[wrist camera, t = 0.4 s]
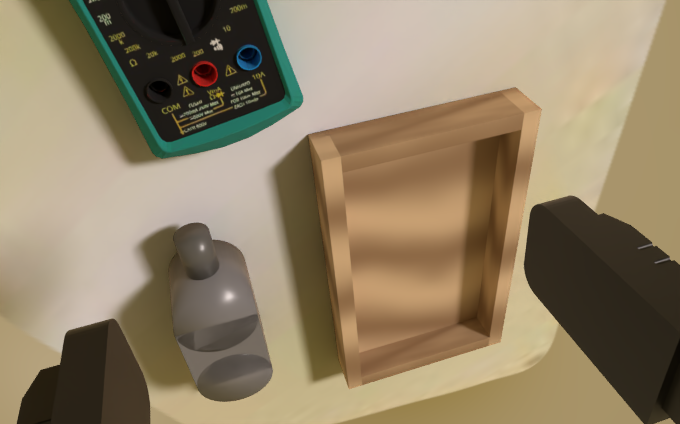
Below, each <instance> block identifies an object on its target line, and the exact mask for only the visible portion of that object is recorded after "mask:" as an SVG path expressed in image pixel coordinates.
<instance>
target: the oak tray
mask: <svg viewBox="0 0 680 424" xmlns="http://www.w3.org/2000/svg"><path fill="white" fill-rule="evenodd" d="M541 110H542V109H541V108H540V107H539V106H537V105H536V104H535V103H534V102H533V101H531V100H530V99H529V98H528V97H527V96H525V95H524V94H523V93H522V92H521V91H519V90H518V89H517V88H516V87H515V88H511V89H507V90H502V91H498V92H493V93H489V94H485V95H480V96H476V97H471V98H467V99H462V100H458V101H454V102H449V103H445V104H440V105H436V106H432V107H427V108H423V109H418V110H414V111H409V112H405V113H401V114H396V115H392V116H387V117H383V118H379V119H374V120H370V121H365V122H361V123H357V124H352V125H348V126H343V127H339V128H334V129H330V130H326V131H321V132H317V133H312V134H308V137H309V144H310V151H311V159H312V166H313V174H314V181H315V188H316V196H317V203H318V211H319V218H320V225H321V233H322V240H323V247H324V255H325V262H326V270H327V277H328V284H329V292H330V299H331V307H332V314H333V321H334V329H335V336H336V343H337V351H338V358H339V362H340V365H341V368H342V371H343V374H344V376H345V379H346V382H347V385H348V388H349V389H351V388H354V387H357V386H361V385H364V384H367V383H370V382H374V381H377V380H380V379H383V378H386V377H390V376H393V375H396V374H399V373H402V372H406V371H409V370H412V369H415V368H419V367H422V366H425V365H428V364H431V363H435V362H438V361H441V360H444V359H447V358H451V357H454V356H457V355H460V354H464V353H467V352H470V351H473V350H476V349H480V348H483V347H486V346H489V345H492V344H496V343H499V342H500V341H501V336H502V330H503V324H504V319H505V313H506V307H507V302H508V296H509V290H510V285H511V279H512V274H513V268H514V262H515V257H516V251H517V245H518V240H519V234H520V228H521V223H522V217H523V212H524V206H525V200H526V195H527V189H528V183H529V178H530V172H531V166H532V161H533V155H534V149H535V144H536V138H537V133H538V127H539V121H540V116H541Z"/></svg>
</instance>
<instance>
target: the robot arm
mask: <svg viewBox="0 0 680 424" xmlns="http://www.w3.org/2000/svg"><path fill="white" fill-rule="evenodd" d="M524 270H525V275H526V278H527V281H528V284H529V286H530V288H531V289H532V291H533V292H534V294H535V295H536V296H537V297H538V299H539V300H540V301H541V302H542V303H543V305H544V306H545V307H546V308H547V309H548V311H549V312H550V313H551V314H552V315H553V316H554V318H555V319H556V320H557V321H558V322H559V324H560V325H561V326H562V327H563V328H564V329H565V331H566V332H567V333H568V334H569V335H570V337H571V338H572V339H573V340H574V341H575V342H576V344H577V345H578V346H579V347H580V348H581V350H582V351H583V352H584V353H585V354H586V355H587V357H588V358H589V359H590V360H591V361H592V363H593V364H594V365H595V366H596V367H597V368H598V370H599V371H600V372H601V373H602V374H603V376H605V378H606V379H607V381H608V382H609V383H610V384H611V385H612V386H613V387H614V389H615V390H616V391H617V392H618V394H619V395H620V396H621V397H622V398H623V399H624V401H626V403H627V404H628V405H629V407H630V408H631V409H632V410H633V411H634V412H635V414H636V415H637V416H638V417H639V418H640V420H641V421H642V422H643V423H644V424H654V423H657V422H660V421H662V420H665V419H668V418H671V419H672V420H673V421H674V422H675V423H676V424H680V265H679V264H678V263H677V262H676V261H671V260H670V258H669V256H668V255H667V254H666V253H664V252H663V251H662V250H661V249H659V248H658V247H657V246H655V247H654V246H653V245H652V242H651V241H650V240H648V239H647V238H645V236H643V235H642V234H641V233H640V232H639V231H637V230H636V229H635V228H633V227H632V226H631V225H629V224H627V223H624V222H622V221H619V220H618V219H615V218H613V217H611V216H608V215H606V214H604V213H603V214H600V215H598V214H597V213H595V212H594V211H593V210H592V209H591V208H589V207H588V206H587V205H586V204H585V203H584V202H582V201H581V200H580V199H579V198H577V197H575V196H567V197H563V198H559V199H556V200H552V201H548V202H545V203H541V204H537V205H535V206H534V207H533V208H532V210H531V212H530V218H529V227H528V235H527V243H526V252H525V260H524ZM61 357H62V358H61V363H60V365H57V366H53V367H50V368H47V369H43V370H40V372H39V374H38V375H37V377H36V378H35V380H34V381H33V383H32V384H31V386H30V388H29V389H28V391H27V392H26V394H25V396H24V397H23V398H22V402H21V407H20V411H19V416H18V420H17V424H150V400H149V394H148V389H147V385H146V381H145V378H144V375H143V373H142V371H141V369H140V367H139V365H138V363H137V361H136V359H135V357H134V355H133V352H132V350H131V348H130V346H129V344H128V342H127V340H126V338H125V336H124V334H123V332H122V330H121V328H120V326H119V324H118V323H117V321H116V320H115V319H109V320H105V321H102V322H98V323H94V324H91V325H87V326H83V327H79V328H76V329H72V330H69V331H67V333H66V335H65V338H64V344H63V350H62V356H61Z"/></svg>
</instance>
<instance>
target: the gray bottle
mask: <svg viewBox="0 0 680 424" xmlns="http://www.w3.org/2000/svg"><path fill="white" fill-rule="evenodd" d="M173 240H174V243H175V246H176V248H177V251H178V253H177V254H176V255H175V256H174V257H173V259H172V260H171V263H170V265H169V282H170V295H171V307H172V319H173V331H174V335H175V338H176V340H177V342H178V345H179V347H180V349H181V352H182V354H183V356H184V358H185V361H186V363H187V365H188V368H189V370H190V372H191V374H192V377H193V379H194V381H195V384H196V386H197V388H198V390H199V392H200V393H201V394H202V395H203V396H204V397H206V398H208V399H211V400H214V401H222V402H227V401H236V400H240V399H244V398H246V397H249V396H251V395H253V394H255V393H257V392H258V391H260V390H261V389H262V388H264V387H265V386H266V385H267V383H268V382H269V381H270V379H271V377H272V372H273V370H272V365H271V361H270V356H269V352H268V348H267V344H266V340H265V336H264V332H263V327H262V323H261V319H260V315H259V311H258V307H257V303H256V300H255V296H254V292H253V289H252V285H251V281H250V277H249V274H248V270H247V266H246V262H245V259H244V256H243V254H242V252H241V251H240V250H239V249H238V248H237V247H235V246H234V245H232V244H230V243H228V242H225V241H220V240H212V238H211V235H210V232H209V229H208V227H207V226H206V225H204V224H202V223H190V224H187V225H184V226H182V227H181V228H179V229H178V230H177V231H176V232H175V234H174V237H173Z"/></svg>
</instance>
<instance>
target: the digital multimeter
mask: <svg viewBox="0 0 680 424" xmlns="http://www.w3.org/2000/svg"><path fill="white" fill-rule="evenodd" d="M69 1H70V3H71V4H72V6H73V8H74V9H75V11H76V13H77V14H78V16H79V18H80V19H81V21H82V23H83V24H84V26H85V28H86V29H87V31H88V33H89V35H90V37H91V39H92V40H93V42H94V44H95V46H96V48H97V50H98V51H99V53H100V55H101V57H102V59H103V61H104V62H105V64H106V66H107V68H108V70H109V72H110V73H111V75H112V77H113V79H114V81H115V82H116V84H117V86H118V88H119V90H120V92H121V93H122V95H123V97H124V99H125V101H126V103H127V105H128V107H129V108H130V110H131V112H132V114H133V116H134V118H135V120H136V122H137V124H138V126H139V128H140V130H141V132H142V134H143V136H144V138H145V140H146V141H147V143H148V145H149V147H150V149H151V151H152V153H153V154H154V155H155V156H156V157H159V158H169V157H175V156H182V155H188V154H194V153H199V152H204V151H208V150H212V149H217V148H221V147H225V146H227V145H230V144H233V143H235V142H238V141H241V140H243V139H246V138H249V137H251V136H252V135H254V134H256V133H258V132H260V131H262V130H263V129H265V128H267V127H269V126H271V125H273V124H274V123H276V122H277V121H279V120H280V119H282V118H283V117H285V116H287V115H288V114H290V113H291V112H293V111H294V110H296V109H297V108H299V107H300V106H301V104H302V103H303V95H302V93H301V90H300V87H299V85H298V82H297V80H296V77H295V75H294V72H293V70H292V67H291V64H290V62H289V59H288V57H287V54H286V52H285V49H284V47H283V44H282V41H281V38H280V36H279V33H278V30H277V27H276V25H275V22H274V19H273V16H272V14H271V11H270V8H269V5H268V3H267V0H69ZM217 16H218V17H217ZM133 29H134V30H135V31H134V30H133ZM206 32H207V33H206ZM142 36H143V37H142ZM267 40H268V41H267ZM182 44H183V45H182ZM273 57H274V58H273ZM274 60H275V61H274ZM279 74H280V75H279ZM280 77H281V78H280ZM132 88H133V89H132ZM136 95H137V96H136ZM137 97H138V98H137ZM141 104H142V105H141ZM145 111H146V112H145ZM146 113H147V114H146ZM237 117H238V118H237ZM149 118H150V119H149ZM150 120H151V121H150ZM229 120H230V121H229ZM224 122H225V123H224ZM221 123H222V124H221ZM216 125H217V126H216ZM213 126H214V127H213ZM154 127H155V128H154ZM155 129H156V130H155ZM158 134H159V135H158Z"/></svg>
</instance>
